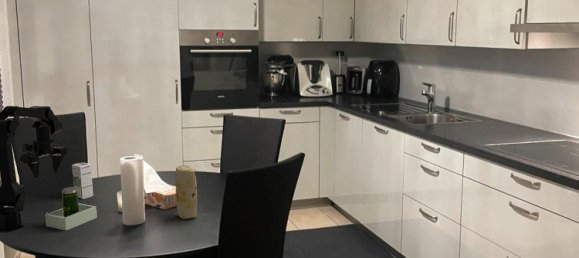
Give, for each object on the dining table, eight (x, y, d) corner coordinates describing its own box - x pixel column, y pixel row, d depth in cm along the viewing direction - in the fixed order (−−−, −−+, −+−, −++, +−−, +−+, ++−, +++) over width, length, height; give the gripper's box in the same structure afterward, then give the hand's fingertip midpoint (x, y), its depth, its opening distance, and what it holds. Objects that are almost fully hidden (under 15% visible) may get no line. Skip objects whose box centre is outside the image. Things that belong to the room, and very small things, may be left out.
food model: (201, 216, 214) (200, 166, 210) (189, 221, 208) (188, 169, 205) (183, 212, 219) (181, 162, 215) (170, 216, 213) (169, 166, 210)
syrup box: (93, 196, 239) (91, 163, 237) (82, 199, 234) (80, 166, 232) (85, 194, 242) (83, 161, 240) (73, 197, 237) (71, 164, 235)
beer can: (81, 217, 210) (79, 186, 208) (76, 222, 205) (74, 190, 202) (66, 217, 209) (64, 187, 207) (61, 222, 204) (59, 191, 202)
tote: (66, 230, 198) (65, 218, 198) (46, 226, 203) (45, 214, 202) (96, 217, 212) (96, 206, 211) (77, 214, 216) (76, 202, 215)
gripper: (47, 131, 232) (50, 168, 235) (8, 139, 215) (12, 178, 218) (67, 134, 227) (69, 170, 230) (28, 142, 211) (32, 181, 213)
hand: (46, 175), depth 223 cm, fingers open, 9 cm apart
